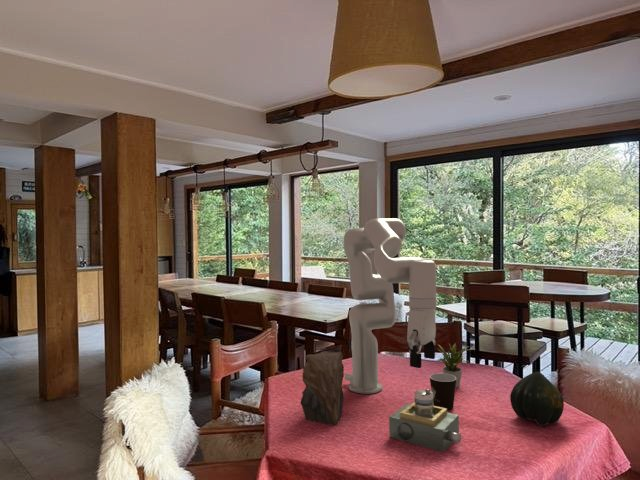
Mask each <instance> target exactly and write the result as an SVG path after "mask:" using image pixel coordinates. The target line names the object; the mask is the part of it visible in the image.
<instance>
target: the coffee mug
mask: <svg viewBox="0 0 640 480" xmlns="http://www.w3.org/2000/svg"><path fill="white" fill-rule="evenodd" d="M429 384H430V391H431V392H433V406H438V407H442V408H447V412H449V411H452V410H453V409H454V403H455V395H456V388H455V387H456V377H455V376H453V375H450V374H445V373H443V372H438V373H432V374H430V375H429Z"/></svg>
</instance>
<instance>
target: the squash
mask: <svg viewBox="0 0 640 480" xmlns="http://www.w3.org/2000/svg"><path fill="white" fill-rule="evenodd" d="M509 399H510V401H509V402H510V405H511V408H512V410H513V412H514V413H515V414H516V415H517V416H518V417H519V418H521V419H524V420H530V421H535V422H536V423H537V425H538V426H542V427H543V426H546V425H552V424H555V423H557V422H558V421H559V420H560V418H561V417H562V415H563V413H564V412H563V411H564V405H565V404H564V402H565V401H564V397H563V395H562V393H561V392H560V391H559V389H558V388H557V387H556V386H555V385H554V384H553V383H552V382H551V381H550V380H549V379H548V378H547V377H546V376H545V375H544V374H543V373H542V372H541V371H538V370H537V371H535V372H534V371H533V372H532V373H530V374H528V375H526V376H524V377H522V378H521V379H519V380H518V381H517V382H516V383H515V384H514V386H513V387H512V389H511V391H510V396H509Z"/></svg>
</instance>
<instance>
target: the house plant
mask: <svg viewBox="0 0 640 480" xmlns="http://www.w3.org/2000/svg"><path fill="white" fill-rule="evenodd" d="M456 343H457V342H454V344H453V345H452V346H451V343H449V342H448V344H449V345H448V346H449V350H448V351H446V349H445V348H444V347H442V345H440V344H438V346H439V348H440V349H438V351H439V352H440V354H442V356H443V358H439V359H437V360H436V362H437V361H439V362H443V364H444V365H445V366H443V367H442V373H445V374H450V375H453V376H455V377H456V387H455V389H456V388H459V387H460V385H461V380H462V373H463V368H461V367H460V366H462V365H463V363H468V360H464V358H463V357H464V352H465V351H472V349H471V348H469V347H470V345H469V346H468V345H467V346H465V347H463V348H462V349H461V350H460V351H457V344H456ZM468 348H469V349H468ZM462 362H463V363H462ZM460 363H461V364H460ZM458 364H460V366H458Z"/></svg>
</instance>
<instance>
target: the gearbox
mask: <svg viewBox="0 0 640 480" xmlns="http://www.w3.org/2000/svg"><path fill="white" fill-rule="evenodd" d="M433 413H434V416H433V418H427V417H423V416H419V415H415V401H413V402H412V403H406V404H404V405H403V406H402V407H400V408H399V409H398V410H396V411H394V412H393V413H392V414H391V415H389V417H388V419H389V420H388V425H389V426H388V427H389V428H388V429H389V432H388V433H389V438H391V439H393V440H398V441H401V442H404V443H407V444H412V445H416V446H419V447H422V448H426V449H430V450H433V451H436V452H441V453H445V451H446V450H448V449H449V447H450V446H451V445H452V444H453V443H457V444H461V441H462V434H461V433H460V419H459V418H460V417H459V416H460V415H459V414H455V413H453V412H452V413H451V412H449V411H447V408H442V407H438V406H433Z"/></svg>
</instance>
